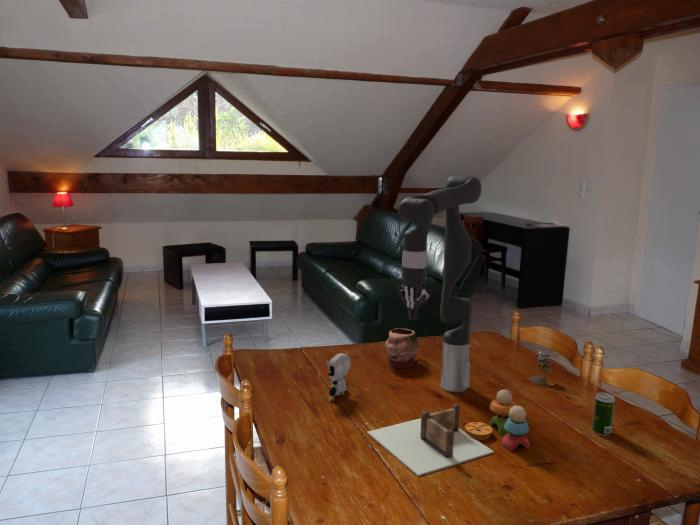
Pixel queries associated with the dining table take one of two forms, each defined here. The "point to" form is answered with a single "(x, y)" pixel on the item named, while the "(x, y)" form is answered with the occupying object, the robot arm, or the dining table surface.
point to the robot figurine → (541, 369)
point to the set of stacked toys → (503, 423)
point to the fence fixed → (441, 419)
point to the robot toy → (338, 374)
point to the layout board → (426, 447)
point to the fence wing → (440, 436)
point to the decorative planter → (401, 348)
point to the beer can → (603, 413)
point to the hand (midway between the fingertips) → (412, 319)
